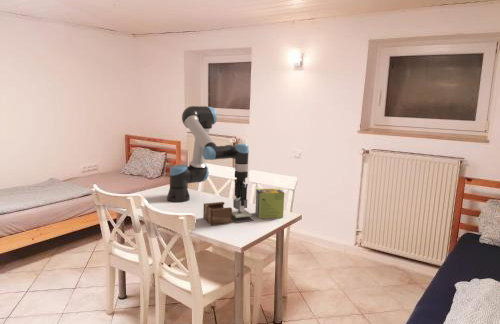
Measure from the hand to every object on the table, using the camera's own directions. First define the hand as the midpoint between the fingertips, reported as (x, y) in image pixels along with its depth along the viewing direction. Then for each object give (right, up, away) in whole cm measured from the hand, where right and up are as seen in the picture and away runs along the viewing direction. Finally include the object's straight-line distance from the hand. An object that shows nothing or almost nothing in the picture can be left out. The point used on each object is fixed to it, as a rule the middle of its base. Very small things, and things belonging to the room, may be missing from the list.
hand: (240, 209), depth 207 cm
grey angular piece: (0, -3, 0) cm, 3 cm away
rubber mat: (0, -5, +1) cm, 5 cm away
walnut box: (-13, -5, -5) cm, 15 cm away
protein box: (+17, -5, +8) cm, 20 cm away
